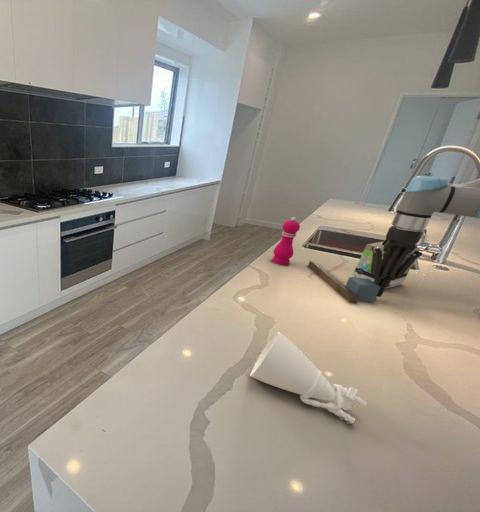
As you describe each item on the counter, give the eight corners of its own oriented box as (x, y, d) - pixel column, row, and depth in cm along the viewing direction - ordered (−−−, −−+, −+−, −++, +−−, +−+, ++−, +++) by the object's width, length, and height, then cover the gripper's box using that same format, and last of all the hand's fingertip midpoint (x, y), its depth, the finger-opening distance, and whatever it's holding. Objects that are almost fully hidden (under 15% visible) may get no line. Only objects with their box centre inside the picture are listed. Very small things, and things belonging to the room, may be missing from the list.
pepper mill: (271, 257, 132) (284, 213, 125) (290, 261, 129) (305, 216, 121) (269, 262, 127) (282, 217, 119) (289, 267, 123) (304, 220, 115)
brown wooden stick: (356, 303, 98) (359, 297, 97) (350, 302, 98) (353, 296, 97) (313, 266, 125) (315, 260, 124) (308, 265, 125) (309, 260, 124)
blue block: (373, 302, 99) (380, 287, 96) (353, 300, 100) (360, 284, 97) (362, 293, 104) (368, 278, 102) (343, 291, 105) (349, 276, 103)
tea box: (381, 291, 106) (399, 253, 100) (349, 279, 115) (364, 243, 109) (403, 285, 112) (421, 248, 106) (371, 273, 120) (387, 239, 114)
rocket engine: (390, 385, 53) (284, 325, 61) (362, 443, 50) (255, 372, 59) (358, 390, 62) (271, 338, 71) (333, 438, 60) (246, 378, 69)
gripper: (421, 226, 94) (389, 291, 103) (374, 223, 96) (348, 287, 105) (441, 234, 87) (406, 303, 96) (391, 230, 89) (361, 298, 98)
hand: (375, 294), depth 101 cm, fingers closed
